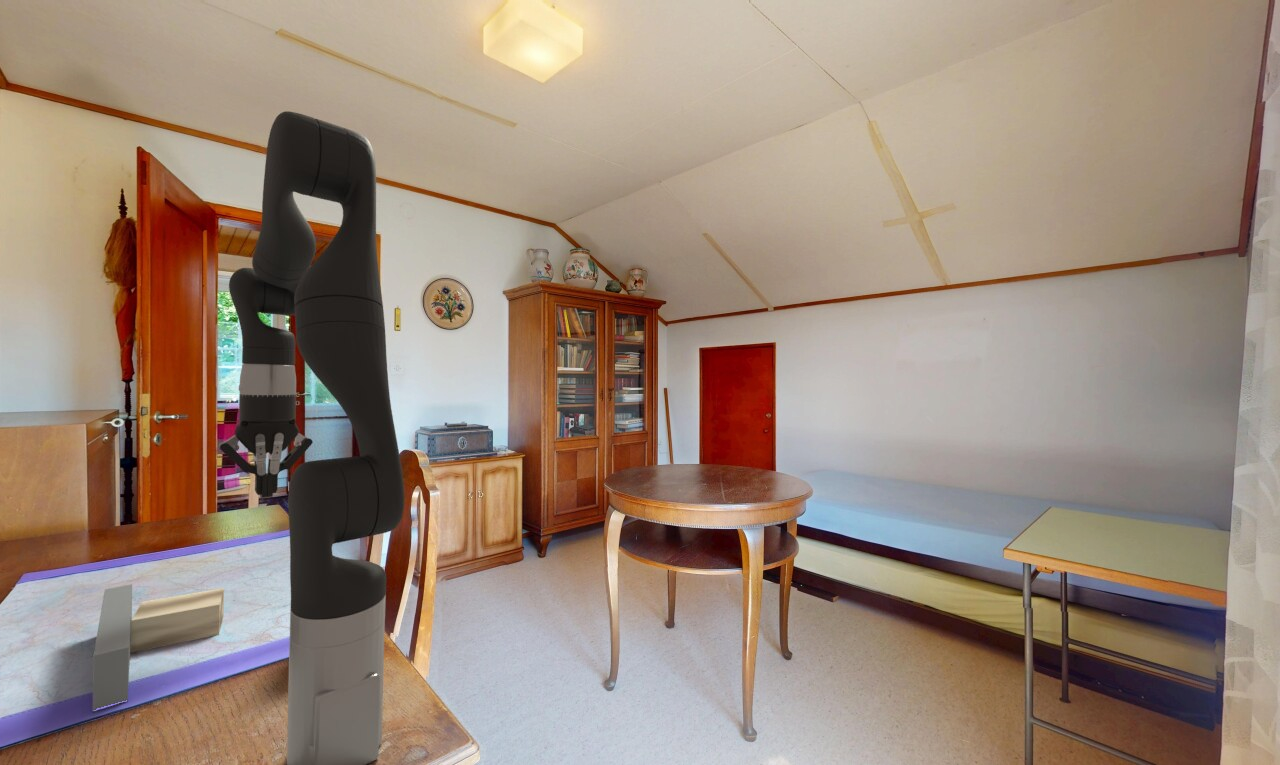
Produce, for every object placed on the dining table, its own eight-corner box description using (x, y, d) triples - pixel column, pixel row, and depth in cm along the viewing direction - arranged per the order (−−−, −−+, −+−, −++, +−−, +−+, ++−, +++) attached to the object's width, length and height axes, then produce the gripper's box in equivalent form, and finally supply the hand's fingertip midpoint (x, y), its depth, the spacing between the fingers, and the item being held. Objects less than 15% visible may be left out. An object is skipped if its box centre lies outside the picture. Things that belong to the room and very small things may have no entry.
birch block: (218, 635, 79) (219, 604, 79) (130, 654, 74) (131, 620, 74) (223, 617, 85) (224, 587, 85) (141, 632, 79) (142, 601, 79)
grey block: (127, 701, 63) (128, 647, 63) (92, 712, 61) (93, 655, 61) (131, 627, 80) (132, 584, 80) (104, 633, 78) (104, 589, 78)
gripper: (218, 393, 75) (216, 507, 76) (320, 393, 85) (318, 495, 85) (213, 391, 81) (211, 498, 81) (309, 391, 90) (307, 487, 90)
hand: (266, 496), depth 83 cm, fingers closed
